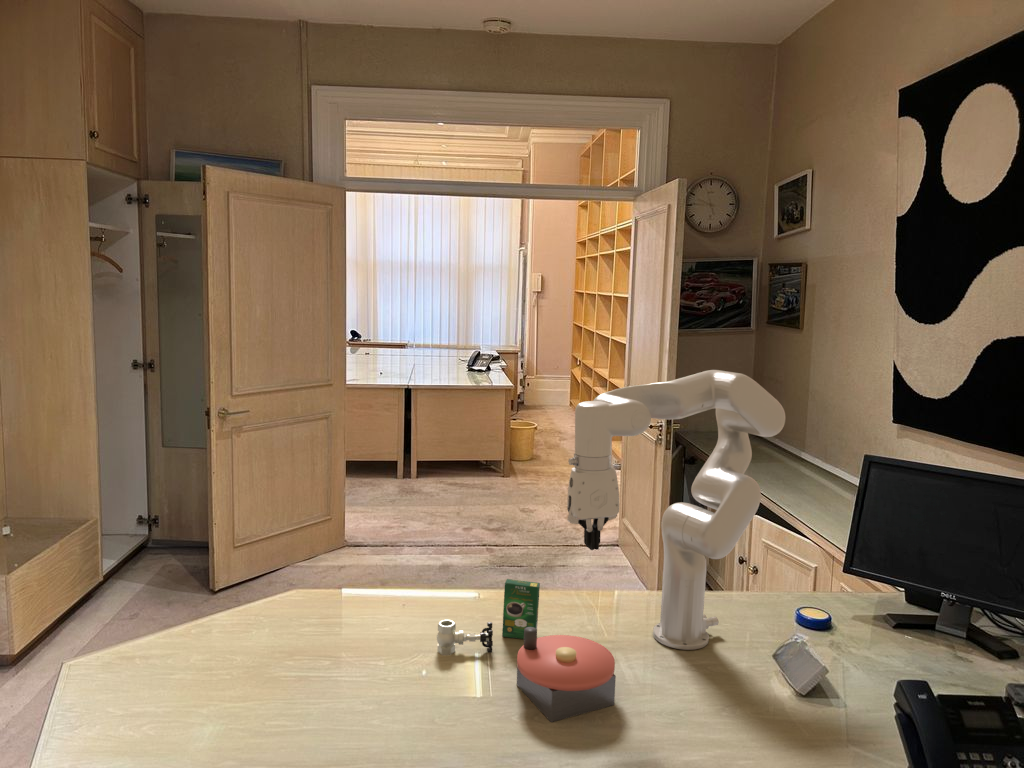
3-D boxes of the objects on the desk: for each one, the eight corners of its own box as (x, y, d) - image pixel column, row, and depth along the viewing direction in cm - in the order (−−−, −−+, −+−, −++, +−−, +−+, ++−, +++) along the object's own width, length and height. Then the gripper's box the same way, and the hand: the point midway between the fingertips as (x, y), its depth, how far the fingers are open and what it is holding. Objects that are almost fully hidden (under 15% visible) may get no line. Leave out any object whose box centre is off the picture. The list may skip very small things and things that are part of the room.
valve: (436, 659, 157) (492, 659, 158) (436, 630, 156) (493, 629, 157) (436, 644, 163) (490, 644, 164) (437, 616, 163) (491, 616, 164)
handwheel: (629, 657, 147) (630, 634, 146) (589, 702, 131) (591, 675, 130) (545, 633, 157) (546, 610, 156) (498, 671, 140) (499, 647, 140)
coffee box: (538, 635, 169) (540, 581, 167) (536, 641, 166) (538, 586, 164) (504, 632, 170) (505, 577, 168) (501, 637, 167) (503, 582, 166)
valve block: (576, 670, 154) (577, 643, 153) (614, 704, 141) (615, 675, 141) (516, 684, 148) (517, 656, 147) (550, 722, 135) (552, 691, 134)
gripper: (566, 469, 144) (565, 558, 147) (634, 463, 149) (632, 549, 152) (552, 460, 151) (552, 545, 154) (617, 454, 156) (616, 537, 159)
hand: (592, 547), depth 153 cm, fingers closed
